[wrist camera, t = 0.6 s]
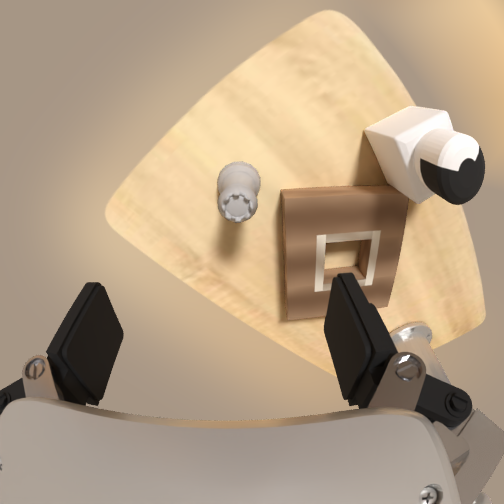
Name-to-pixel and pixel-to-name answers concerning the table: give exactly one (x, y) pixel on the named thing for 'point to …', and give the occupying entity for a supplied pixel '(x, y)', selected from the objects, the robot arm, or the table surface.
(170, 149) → the table surface
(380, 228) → the board
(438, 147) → the medicine bottle
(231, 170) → the rook chess piece
